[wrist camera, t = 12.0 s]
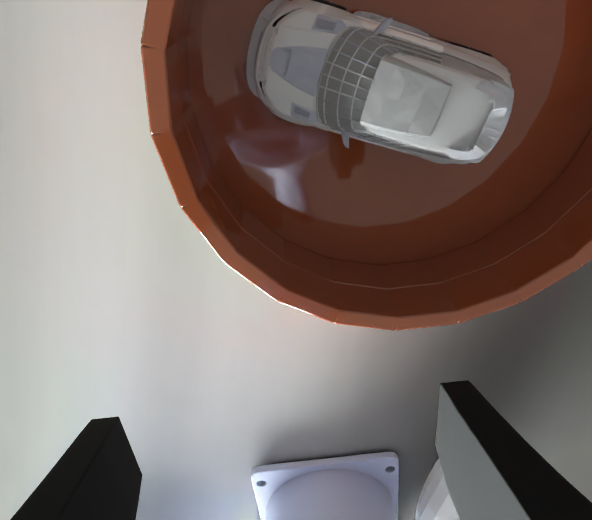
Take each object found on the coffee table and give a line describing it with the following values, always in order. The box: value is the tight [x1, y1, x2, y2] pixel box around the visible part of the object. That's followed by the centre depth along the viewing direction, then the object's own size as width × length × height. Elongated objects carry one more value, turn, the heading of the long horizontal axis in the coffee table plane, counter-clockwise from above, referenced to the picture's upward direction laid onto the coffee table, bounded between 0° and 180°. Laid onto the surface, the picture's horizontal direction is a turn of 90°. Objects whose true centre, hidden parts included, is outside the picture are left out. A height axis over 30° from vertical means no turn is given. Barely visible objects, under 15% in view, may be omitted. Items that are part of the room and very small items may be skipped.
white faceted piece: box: [415, 458, 460, 520], centre depth 25 cm, size 3×8×3 cm, turn 168°
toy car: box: [246, 0, 514, 164], centre depth 14 cm, size 4×8×3 cm, turn 75°
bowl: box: [141, 0, 592, 330], centre depth 14 cm, size 15×15×4 cm
